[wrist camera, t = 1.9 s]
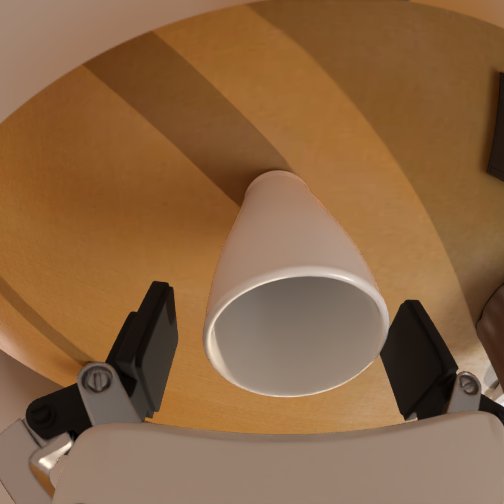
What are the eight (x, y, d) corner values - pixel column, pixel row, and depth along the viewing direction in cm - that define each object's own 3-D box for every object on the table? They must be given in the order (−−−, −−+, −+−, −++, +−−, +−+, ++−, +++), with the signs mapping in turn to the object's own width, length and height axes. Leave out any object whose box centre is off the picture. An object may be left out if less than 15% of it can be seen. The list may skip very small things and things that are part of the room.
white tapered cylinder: (236, 238, 24) (210, 397, 11) (234, 159, 21) (186, 264, 8) (315, 239, 24) (363, 394, 11) (323, 161, 20) (418, 266, 7)
